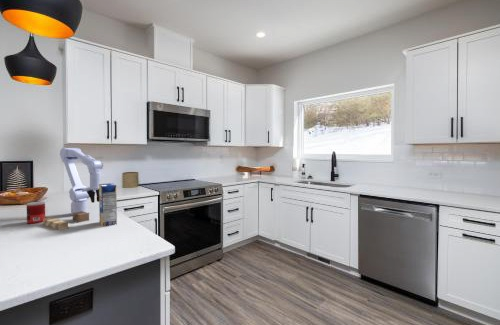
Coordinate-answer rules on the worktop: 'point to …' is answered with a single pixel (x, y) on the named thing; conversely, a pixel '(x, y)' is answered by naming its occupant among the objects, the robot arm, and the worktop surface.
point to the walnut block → (80, 216)
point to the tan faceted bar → (55, 223)
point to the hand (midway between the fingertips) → (95, 201)
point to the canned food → (35, 212)
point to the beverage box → (108, 204)
